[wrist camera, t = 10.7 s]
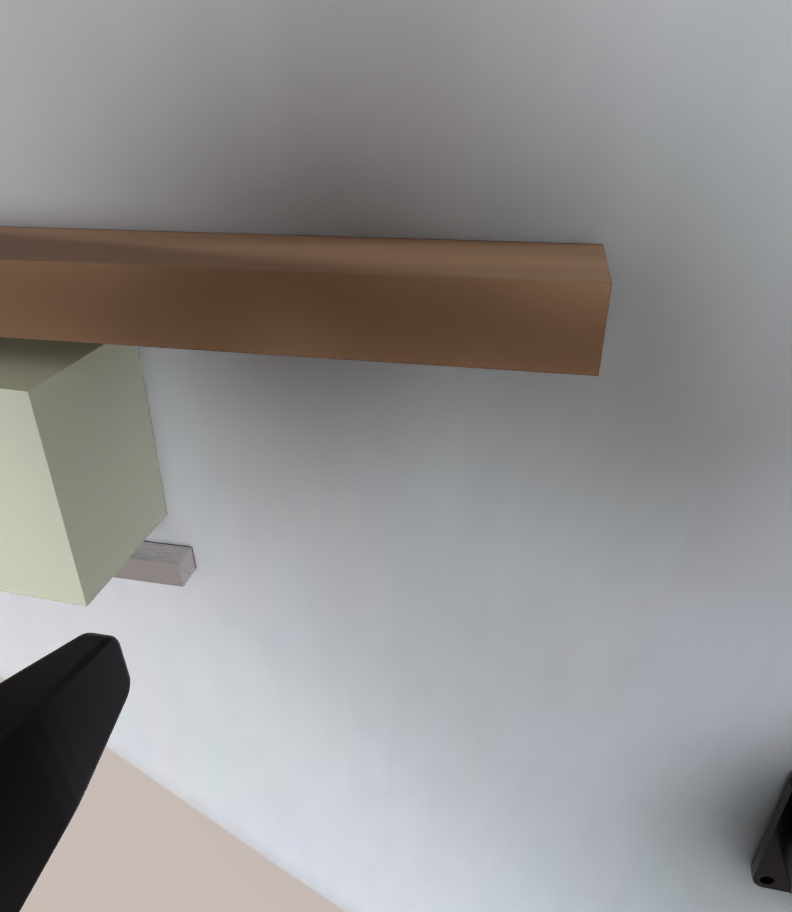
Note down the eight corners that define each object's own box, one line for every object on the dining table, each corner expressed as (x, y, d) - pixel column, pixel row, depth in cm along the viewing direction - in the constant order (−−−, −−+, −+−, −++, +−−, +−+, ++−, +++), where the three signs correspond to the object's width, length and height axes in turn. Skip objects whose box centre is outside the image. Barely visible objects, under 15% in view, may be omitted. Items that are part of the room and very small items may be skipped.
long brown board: (592, 322, 18) (598, 376, 15) (-167, 284, 22) (-280, 319, 19) (602, 244, 17) (611, 284, 14) (-195, 220, 21) (-318, 246, 18)
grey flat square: (196, 568, 25) (183, 586, 24) (-36, 538, 27) (-55, 554, 26) (142, 316, 20) (124, 327, 19) (-135, 300, 22) (-163, 310, 21)
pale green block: (172, 529, 25) (92, 626, 20) (49, 510, 25) (-53, 599, 21) (136, 324, 21) (27, 391, 16) (-9, 308, 21) (-147, 369, 17)
